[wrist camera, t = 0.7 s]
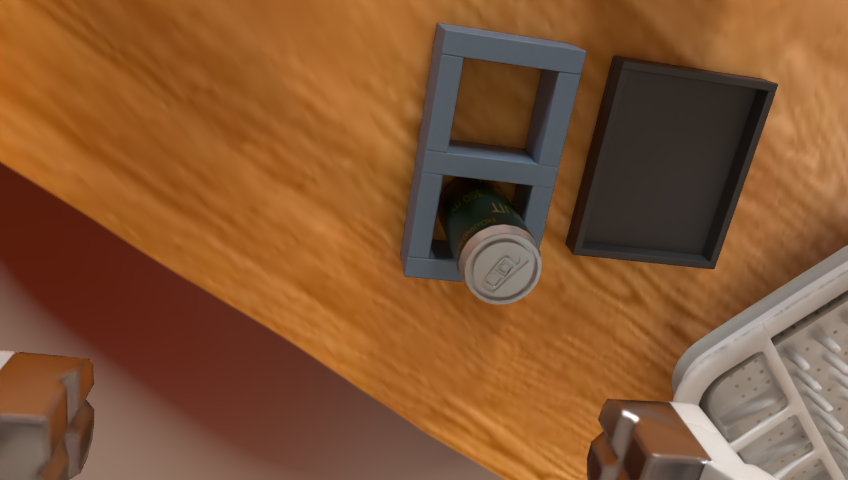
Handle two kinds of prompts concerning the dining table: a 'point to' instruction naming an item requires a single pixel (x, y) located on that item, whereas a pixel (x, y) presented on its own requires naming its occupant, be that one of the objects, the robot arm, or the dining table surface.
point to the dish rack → (780, 376)
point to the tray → (667, 163)
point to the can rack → (482, 161)
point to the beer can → (489, 241)
